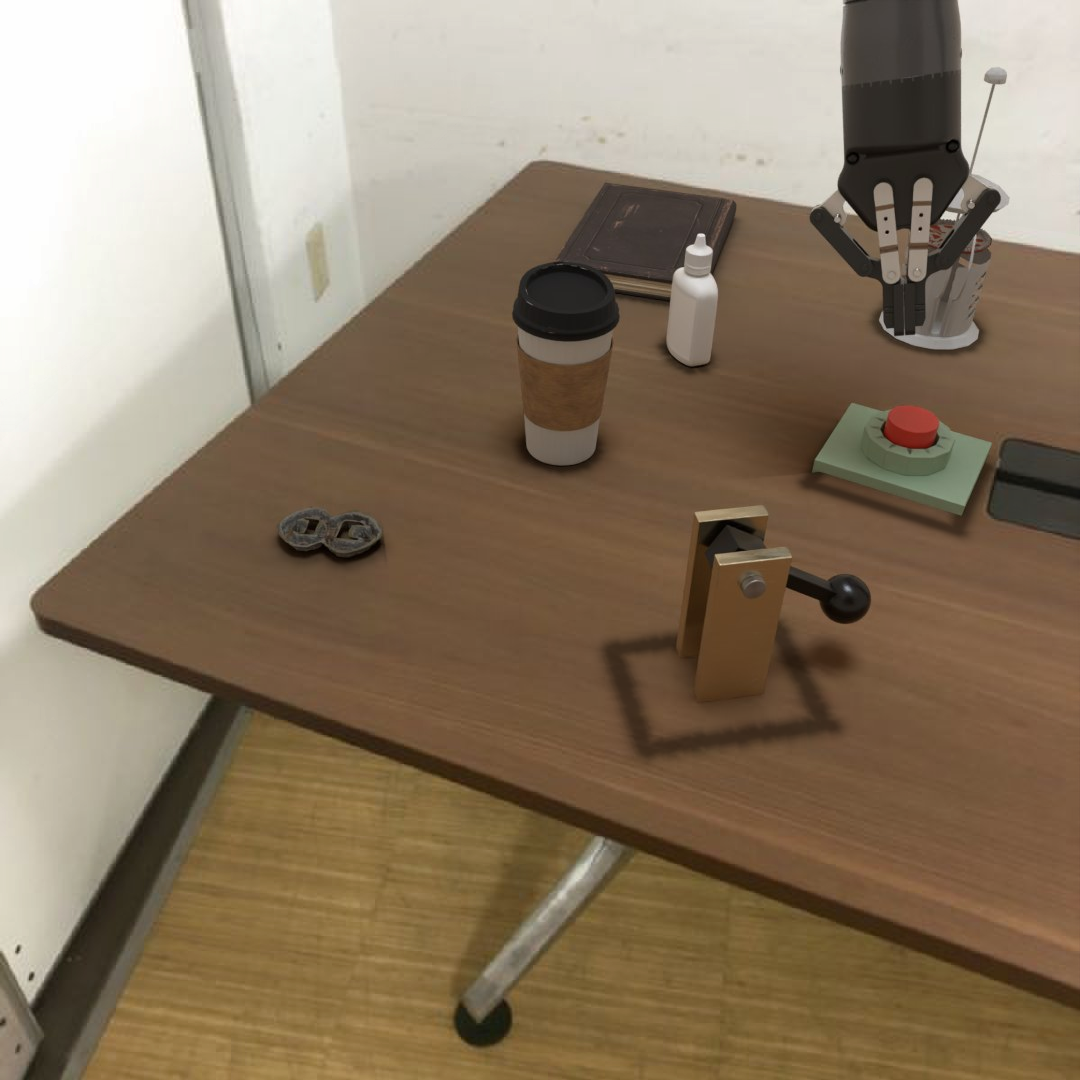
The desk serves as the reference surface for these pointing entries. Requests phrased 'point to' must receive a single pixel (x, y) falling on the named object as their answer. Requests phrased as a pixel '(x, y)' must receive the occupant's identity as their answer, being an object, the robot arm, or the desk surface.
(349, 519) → the corroded twin loop
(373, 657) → the desk surface
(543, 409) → the coffee cup
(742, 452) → the desk surface
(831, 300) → the desk surface
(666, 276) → the hardcover book
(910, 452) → the control block
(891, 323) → the robot arm
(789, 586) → the black lever handle
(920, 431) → the button
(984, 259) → the french press
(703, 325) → the eye dropper bottle
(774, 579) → the wooden lever mount
